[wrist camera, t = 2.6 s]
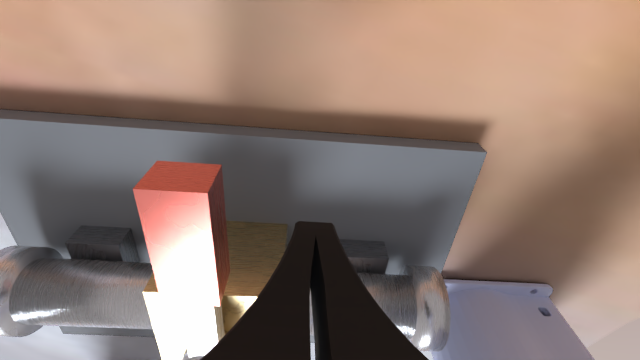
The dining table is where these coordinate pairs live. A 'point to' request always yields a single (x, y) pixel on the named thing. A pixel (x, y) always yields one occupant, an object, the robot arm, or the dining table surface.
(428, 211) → the mounting board
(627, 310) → the dining table surface
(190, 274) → the valve lever
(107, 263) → the valve body
